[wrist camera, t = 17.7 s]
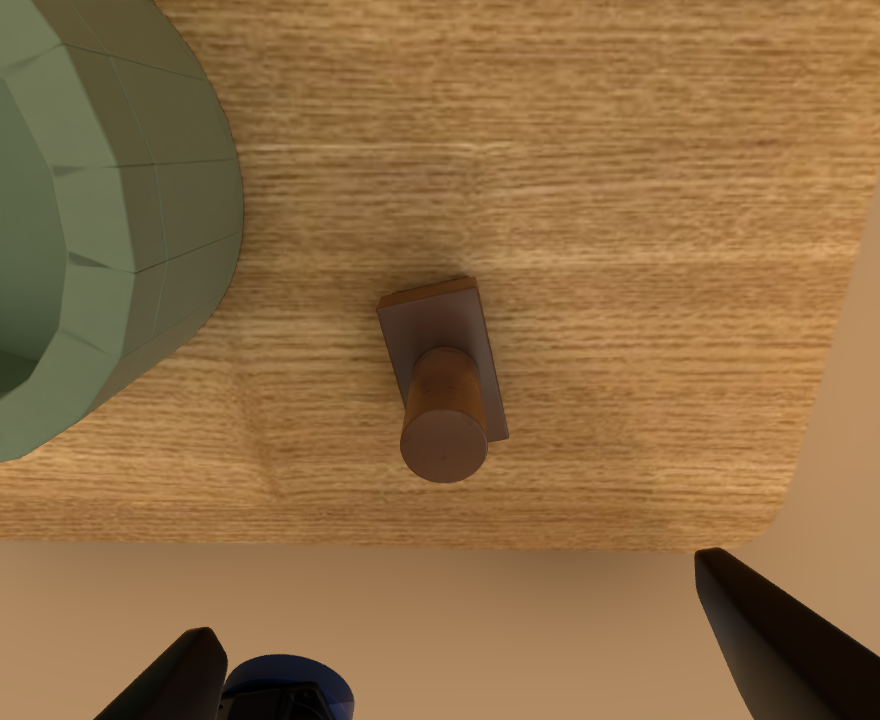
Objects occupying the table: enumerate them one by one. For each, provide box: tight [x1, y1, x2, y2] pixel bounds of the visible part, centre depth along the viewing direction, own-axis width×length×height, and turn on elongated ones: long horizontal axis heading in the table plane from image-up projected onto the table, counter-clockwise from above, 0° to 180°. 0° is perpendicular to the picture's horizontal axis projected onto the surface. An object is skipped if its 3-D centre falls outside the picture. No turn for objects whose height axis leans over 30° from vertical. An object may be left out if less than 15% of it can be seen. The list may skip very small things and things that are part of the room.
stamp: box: [376, 276, 509, 483], centre depth 17 cm, size 6×4×7 cm, turn 13°
